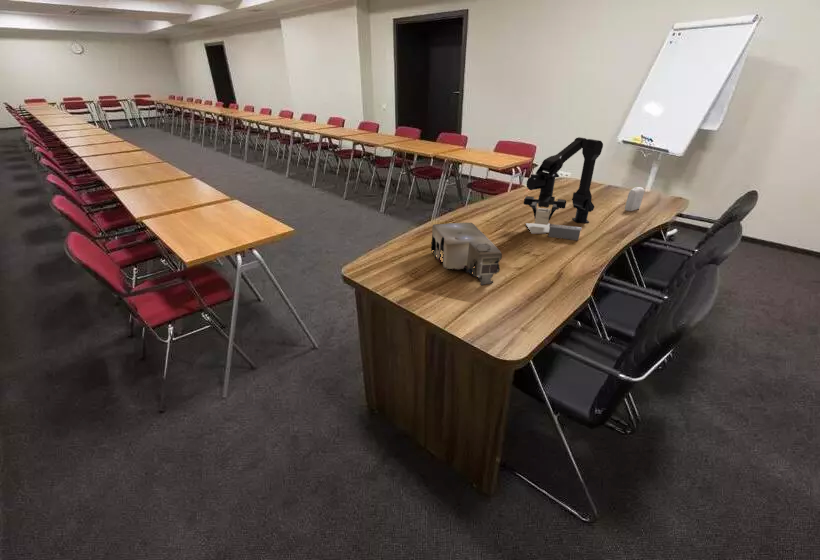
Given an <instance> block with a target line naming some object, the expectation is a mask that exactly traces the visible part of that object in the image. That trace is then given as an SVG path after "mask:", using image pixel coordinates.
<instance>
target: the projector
mask: <svg viewBox="0 0 820 560" xmlns="http://www.w3.org/2000/svg"><path fill="white" fill-rule="evenodd" d="M431 227H432V228H431V229H432V230H431V233H432V234H431V242H430V244H431V245H430V246H431V247H430V251H432V250H434V251H433V253H434V254H433V253H432V254H433V255H434V258H435V257H436V255H437V257H436V258H435V259H436V260H437V261H438V260H439V261H438V262H439V263H440V262H441V260H440V257H441V254H440V252H442V253H444V255H443V257H442V258H443V263H442V267H443V268H444V269H447V270H448V269H449V271H451V270H450V269H452V270H453V269H455V271H461V270H460V269H464V270H463V271H465V273H467V274H470V275H471V274H472V272H473V274H472V275H471V277H476V278H477V276H478V278H477V280H478V281H479V283H480V286H485V285H487V284H488V285H489V284H494V280H492V279H493V276H494V275H496V274H498V273H499V272H501V271H500V270H501V267H500V264H499V262H500V261H501V260H502V257H503V253H502V252H501V250H500V249H499V248H498V247H497V246H496V245H495V244H494V242H492V240H490V239H489V238H488V237H487V236H486V234H485V233H483V232H482V231H481V230H480V229H479V228H478V227H477V226H476V224H474V223H473V222H453V223H439V224H436V223H434V224H432V226H431ZM474 265H475V268H473V267H474ZM468 272H469V273H468Z"/></svg>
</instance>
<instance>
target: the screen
mask: <svg viewBox="0 0 820 560" xmlns="http://www.w3.org/2000/svg"><path fill="white" fill-rule="evenodd" d="M549 227H550V230H549V234H548V238H555V237H556V238H555V239H562V238H563V239H564V240H565V239H566V240H571V241H579V239H580V234H581V231H582V226H581V227H580V226H575V225H574V226H573V225H563V224H555V223H550V225H549ZM563 239H562V240H563Z"/></svg>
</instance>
